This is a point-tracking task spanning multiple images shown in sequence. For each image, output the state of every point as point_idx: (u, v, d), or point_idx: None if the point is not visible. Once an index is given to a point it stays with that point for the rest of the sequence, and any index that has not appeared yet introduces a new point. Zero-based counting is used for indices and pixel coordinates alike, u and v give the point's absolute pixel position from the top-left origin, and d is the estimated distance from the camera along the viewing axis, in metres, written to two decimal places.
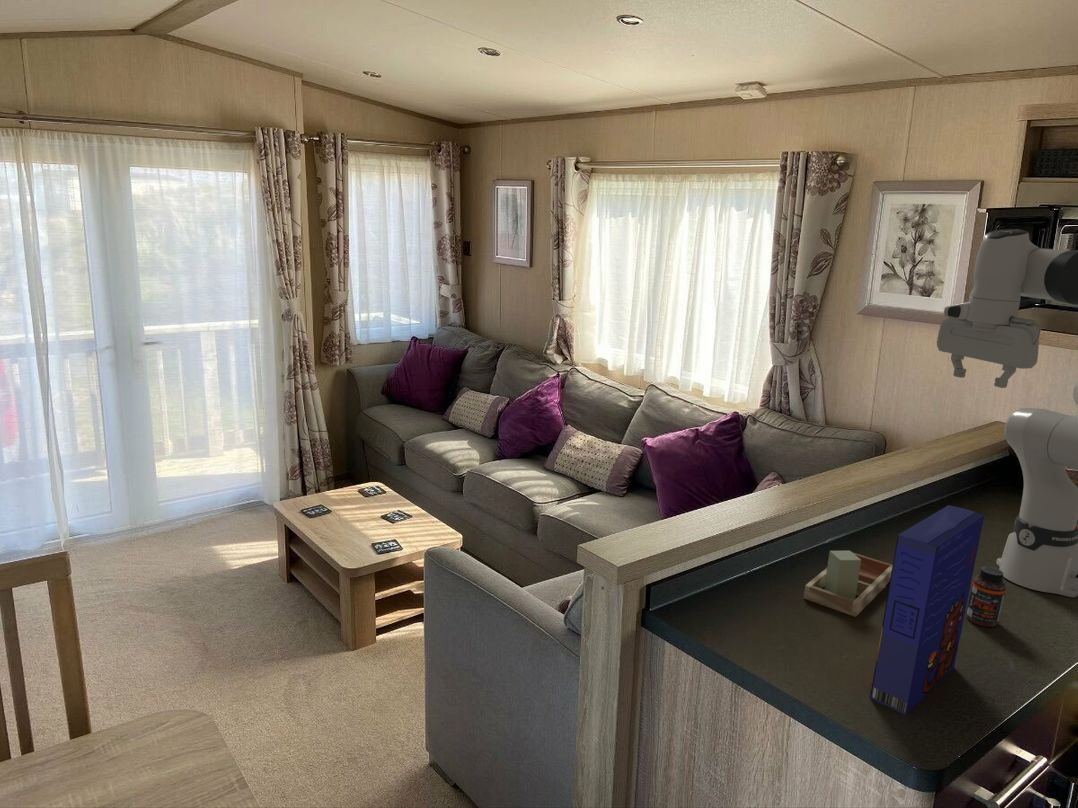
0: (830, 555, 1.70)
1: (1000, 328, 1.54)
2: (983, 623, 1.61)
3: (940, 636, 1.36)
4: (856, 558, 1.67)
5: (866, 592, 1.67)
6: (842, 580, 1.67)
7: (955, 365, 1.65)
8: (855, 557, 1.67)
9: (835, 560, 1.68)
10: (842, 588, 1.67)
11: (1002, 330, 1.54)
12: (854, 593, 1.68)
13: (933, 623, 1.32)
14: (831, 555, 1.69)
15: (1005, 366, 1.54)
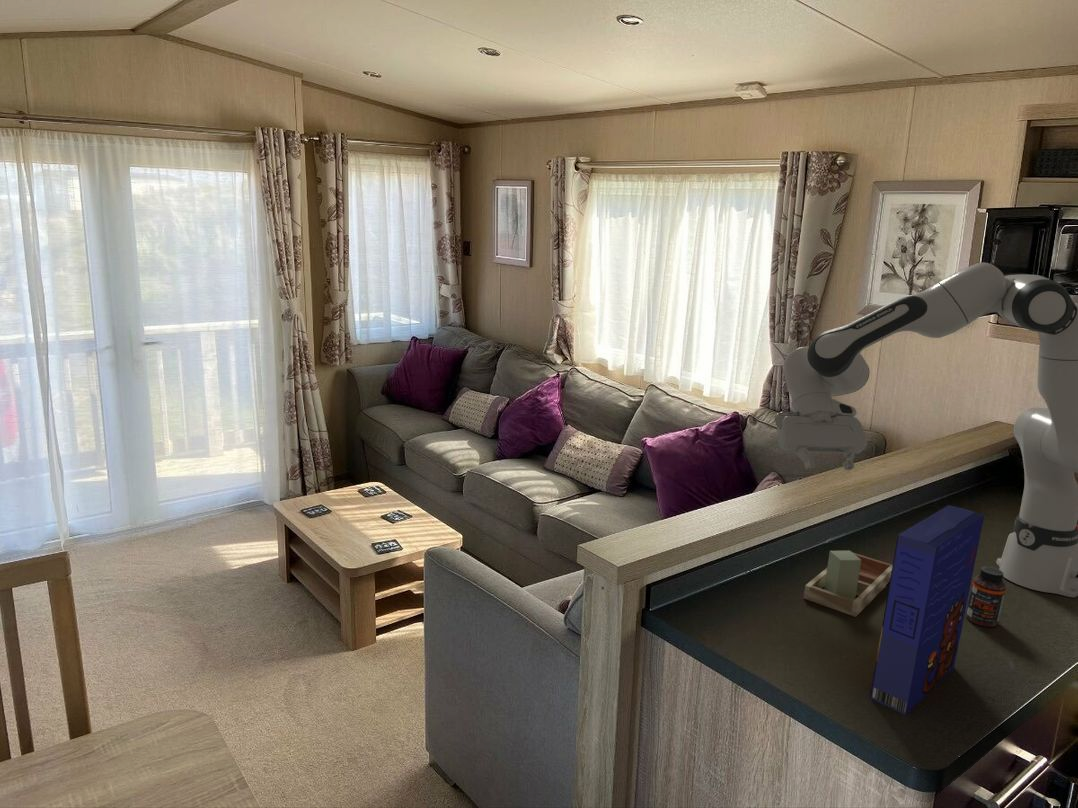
0: (830, 555, 1.70)
1: None
2: (983, 623, 1.61)
3: (940, 636, 1.36)
4: (856, 558, 1.67)
5: (866, 592, 1.67)
6: (842, 581, 1.67)
7: None
8: (855, 557, 1.67)
9: (835, 560, 1.68)
10: (842, 588, 1.67)
11: None
12: (854, 593, 1.68)
13: (933, 623, 1.32)
14: (831, 555, 1.69)
15: None
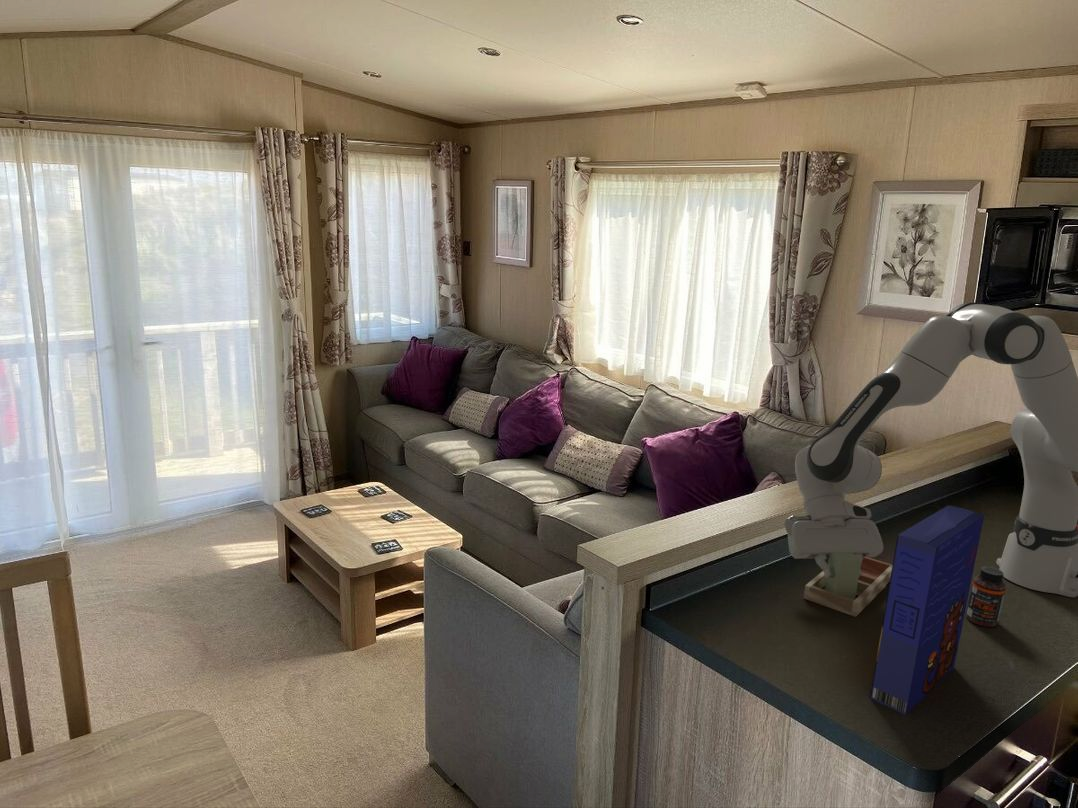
0: (830, 555, 1.70)
1: None
2: (983, 623, 1.61)
3: (940, 636, 1.36)
4: (856, 558, 1.67)
5: (866, 592, 1.67)
6: (842, 580, 1.67)
7: None
8: (855, 557, 1.67)
9: (835, 560, 1.68)
10: (842, 588, 1.67)
11: None
12: (854, 593, 1.68)
13: (933, 623, 1.32)
14: (831, 555, 1.69)
15: None
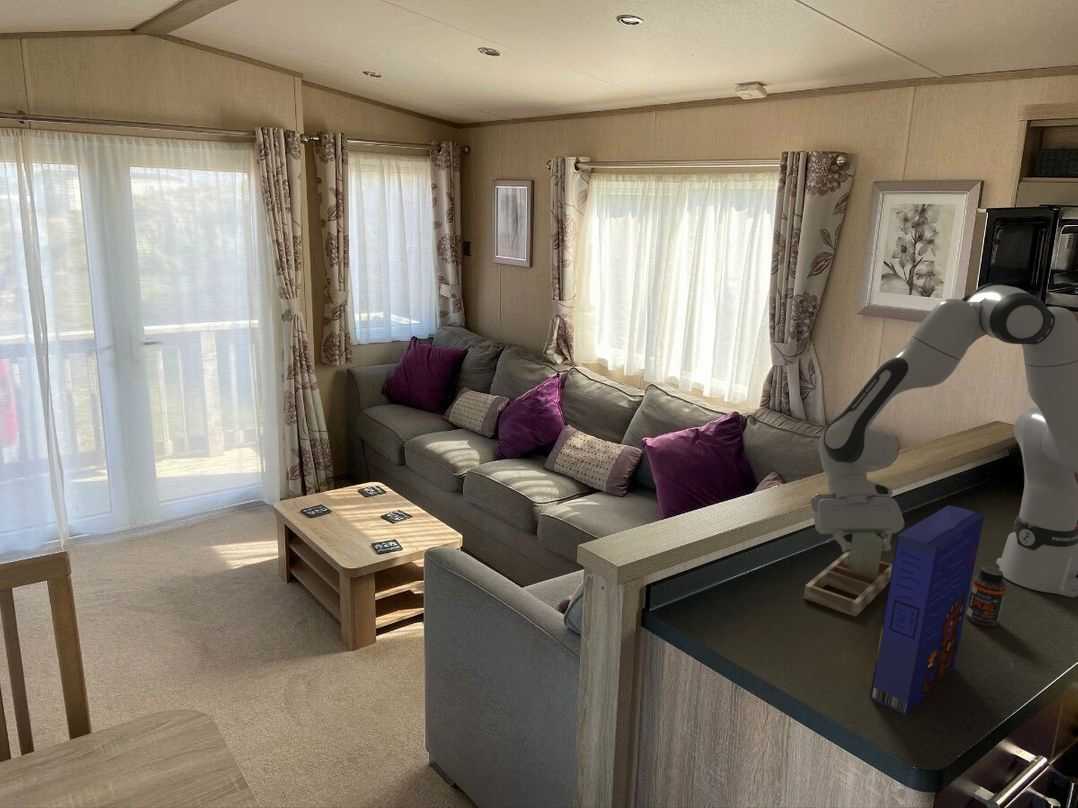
0: (853, 536, 1.80)
1: None
2: (983, 623, 1.61)
3: (940, 636, 1.36)
4: (878, 538, 1.77)
5: (866, 592, 1.67)
6: (865, 559, 1.77)
7: None
8: (877, 537, 1.78)
9: (859, 540, 1.78)
10: (865, 566, 1.78)
11: None
12: (876, 571, 1.79)
13: (933, 623, 1.32)
14: (855, 535, 1.80)
15: None
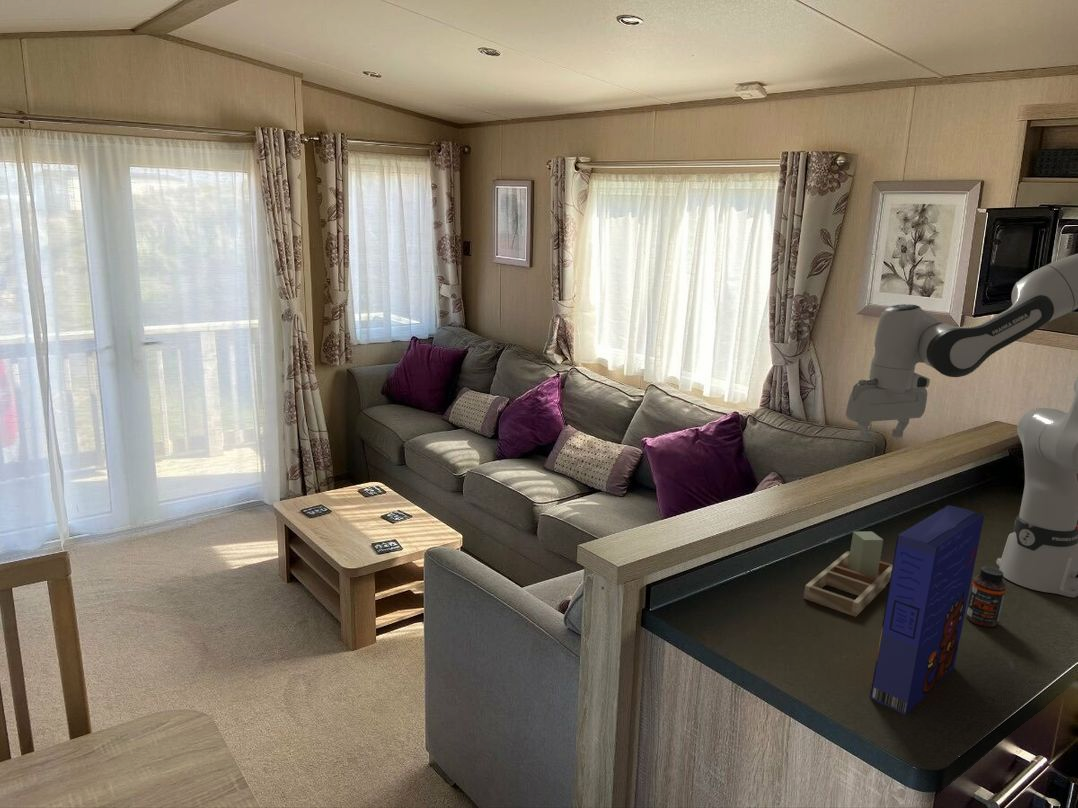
0: (853, 536, 1.80)
1: None
2: (983, 623, 1.61)
3: (940, 636, 1.36)
4: (878, 538, 1.77)
5: (866, 592, 1.67)
6: (865, 559, 1.77)
7: None
8: (877, 537, 1.78)
9: (859, 540, 1.78)
10: (865, 566, 1.78)
11: None
12: (876, 571, 1.79)
13: (933, 623, 1.32)
14: (855, 535, 1.80)
15: None
